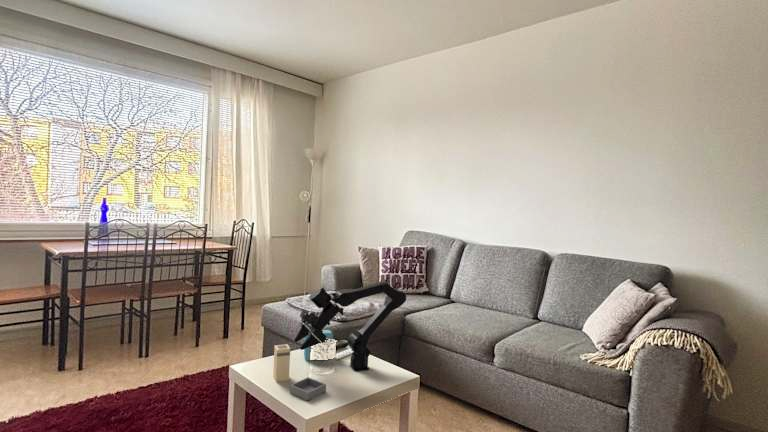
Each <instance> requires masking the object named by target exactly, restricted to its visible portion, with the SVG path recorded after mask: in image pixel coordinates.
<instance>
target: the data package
mask: <svg viewBox="0 0 768 432" xmlns="http://www.w3.org/2000/svg"><path fill="white" fill-rule="evenodd" d="M322 331H323V333H324V334H325V335H326V338H329V339H333V340H334V335H333V332H332V330H330V329H323V330H322ZM308 336H309V335H307V336H306V337H304V341H305V340H306V339H307V338H308ZM310 349H311V346H310V347H308V348H306V349H303V356H304V360H305V361H307V362H309V360H310Z"/></svg>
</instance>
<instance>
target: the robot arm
mask: <svg viewBox="0 0 768 432" xmlns="http://www.w3.org/2000/svg"><path fill="white" fill-rule="evenodd" d="M381 293H383V294H385V295H386V296H385V299H384V301H383V304H382V305H381V306H380V307H379V308H378V310H376V312H375V313H374V314H373V315H372V316H371V318H370V319H369V320H368V321H367V322H366V323H365V325H363V327H362V328H360V329H357V328H355V329H354V330H353V331H352V332H351V333H350V334H349V335H348V338H347V345H348V347H349V348H350V350H351V351H352V352H351V356H350V363H349V367H350V368H352V370H353V371H354V372H359V371H367V370H369V369H370V367H369V365H368V364H369V356H370V354H371V350H370V349H369V348H368V347H367V346H368V344H369V341H370V338H371V336H372V335H373V334H374V333H375V331H376V330H377V329H378V328H379V327H380V326H381V325H382V323H383V322H384V321H386V318H387V317H388V316H389V315H390V314H391V313H392V312H393V311H395V310H397V309H398V308H400V307H401V306H402V305H404V304H405V303H406V302H407V301H406V300H407V295H406V293H405V292H404V291H402V290H400V289H398V288H393V287H392V286H390V285H389V284H388V283H387V282H385V281H379V282H376V283H372V284H368V285H366V286H365V285H364V286H361V287H358V288H354V289H353V288H352V289H351V288H349V289H348V288H347V289H346V288H344V289H343V288H342V289H338V290H336V292H332V293H328V291H326V290H325V288H324V287H323V286H320V287H319V288H317V289H316V290H313V291H312V293H310V295H309V297H308V298H309V300H310V301H311V302H312V303H313V304H314V306H316V308H318V309H321V310H320V311H316V312H314V311H309V310H307V309H305V308H303V309H302V310H301V312H300V315H299V317H300V329H299V331H298V333H297V335H296V336H295V338H294V343H297V342H300V341H301V340H302V339H304V342H303V343H302V344H301V346H300V347H299V349H300V350H301V351H302V350H303V351H304V349H306V348H308V347H310V346H313V345H316V344H318V343H321V342H322V343H323V342H324V341H325V340H326V335H325V334H324V333H323V331H322V330H325V327H327V326H330V325H331V323H330V322H331V321H332V320H333V319H334V318H335V317H336V316H337V315H338V314H340V315H341V316H344V308H345V307H346V308H347V307H349V306H350V305H353V304H354V303H355V302H357V301H358V300H361V299H364V298H368V297H371V296H374V295H379V294H381ZM331 301H332V302H333V303H332V302H331ZM340 306H341V307H340ZM307 335H309V336H308V338H307V339H306V340H305V337H306V336H307ZM320 341H321V342H320Z"/></svg>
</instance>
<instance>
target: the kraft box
mask: <svg viewBox="0 0 768 432" xmlns="http://www.w3.org/2000/svg"><path fill="white" fill-rule="evenodd" d="M273 349H274V351H273V352H274V353H273V374H272V375H273V379H274V381H275V383H279V382H285V381H290V363H291V347H290V346H289V344H287V343H285V344H277V345H274V348H273Z"/></svg>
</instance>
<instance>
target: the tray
mask: <svg viewBox="0 0 768 432" xmlns="http://www.w3.org/2000/svg"><path fill="white" fill-rule="evenodd" d="M326 392H327V384H326V383H324V382H321V381H319V380H316V379H313V378H311V377H305V378H303V379H301V380H298V381H297V382H295V383H292V384H290V385H289V394H290V395H292V396H294V397H298V398H299V399H302V400H304V401H306V402H310V401H311V400H314V399H316V398H317V397H319V396H322V395H323V394H325V393H326Z"/></svg>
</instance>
